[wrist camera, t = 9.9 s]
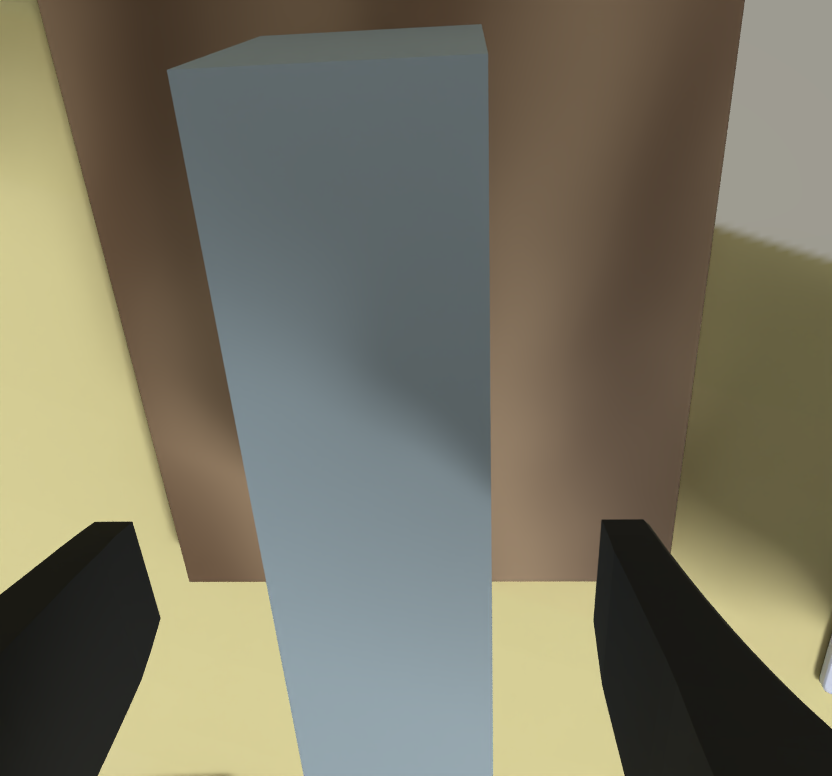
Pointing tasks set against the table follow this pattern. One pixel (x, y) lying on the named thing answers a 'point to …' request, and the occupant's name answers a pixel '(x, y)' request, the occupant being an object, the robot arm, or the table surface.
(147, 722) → the table surface
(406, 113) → the blue-grey rectangular block
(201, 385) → the peg plate
